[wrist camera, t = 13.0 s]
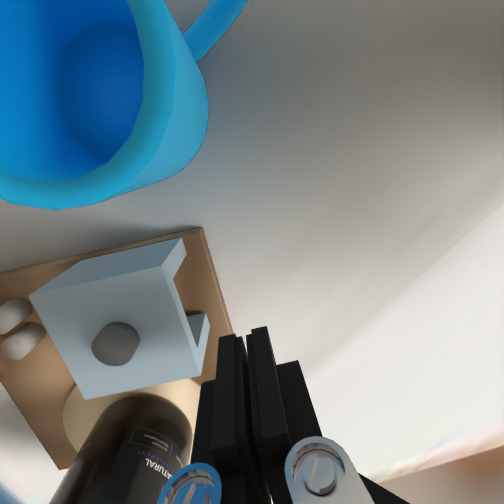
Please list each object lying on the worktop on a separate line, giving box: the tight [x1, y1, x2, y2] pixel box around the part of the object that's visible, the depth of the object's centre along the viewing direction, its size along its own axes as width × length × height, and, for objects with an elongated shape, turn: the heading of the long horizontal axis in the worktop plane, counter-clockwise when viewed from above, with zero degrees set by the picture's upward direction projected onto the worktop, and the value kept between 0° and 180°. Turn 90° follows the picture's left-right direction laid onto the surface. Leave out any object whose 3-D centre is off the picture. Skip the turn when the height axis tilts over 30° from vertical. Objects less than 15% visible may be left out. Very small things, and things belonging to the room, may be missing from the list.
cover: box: [28, 237, 210, 400], centre depth 15 cm, size 6×6×5 cm
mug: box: [0, 0, 248, 210], centre depth 11 cm, size 12×8×8 cm
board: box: [0, 227, 233, 470], centre depth 19 cm, size 16×19×4 cm
